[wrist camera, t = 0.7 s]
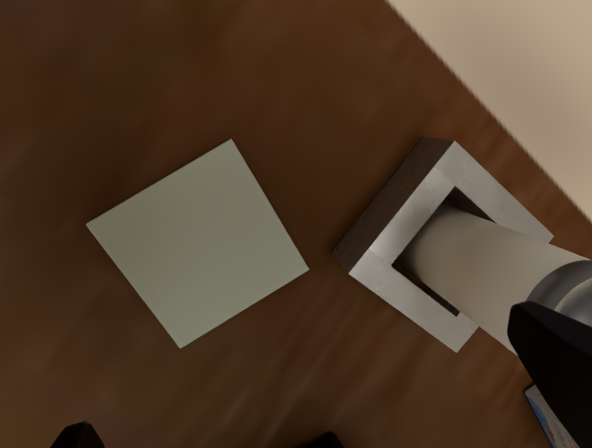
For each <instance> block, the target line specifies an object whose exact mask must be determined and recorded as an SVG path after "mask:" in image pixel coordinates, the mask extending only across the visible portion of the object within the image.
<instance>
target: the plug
mask: <svg viewBox="0 0 592 448" xmlns="http://www.w3.org/2000/svg"><path fill="white" fill-rule="evenodd" d="M396 260H397V262H398V263H399V264H400V265H401V266H402V267H404V268H405V269H406V270H408V271H409V272H410V273H411V274H413V275H414V276H415V277H417V278H418V279H419V280H420V281H422V282H423V283H424V284H426V285H427V286H428V287H429V288H431V289H432V290H433V291H435V292H436V293H437V294H438V295H440V296H441V297H442V298H444V299H445V300H446V301H448V302H449V303H450V304H451V305H453V306H454V307H455V308H457V309H458V310H459V311H460V312H462V313H463V314H464V315H466V316H467V317H468V318H469V319H471V320H472V321H473V322H475V323H476V324H477V325H479V326H480V327H481V328H482V329H484V330H485V331H486V332H488V333H489V334H490V335H491V336H493V337H494V338H495V339H497V340H498V341H499V342H500V343H502V344H503V345H504V346H506V347H507V348H508V349H509V350H511V351H512V352H513V353H515V354H516V355H517V353H516V352H515V350H514V348H513V347H512V345H511V343H510V341H509V339H508V336H507V327H508V320H509V314H510V308H511V307H512V305H514V304H517V303H520V302H524V301H534V302H536V303H539V304H541V305H543V306H545V307H548V308H550V309H552V310H555V311H557V312H559V313H561V314H564V315H566V316H568V317H571V318H573V319H575V320H577V321H580V322H582V323H584V324H587V325H589V326H591V327H592V260H590V259H587V258H584V257H582V256H579V255H577V254H574V253H571V252H569V251H566V250H564V249H561V248H558V247H556V246H553V245H551V244H548V243H545V242H543V241H540V240H538V239H535V238H532V237H530V236H527V235H525V234H522V233H519V232H517V231H514V230H512V229H509V228H506V227H504V226H501V225H499V224H496V223H493V222H491V221H488V220H485V219H483V218H480V217H478V216H475V215H472V214H470V213H467V212H465V211H462V210H459V209H457V208H454V207H452V206H449V205H446V204H444V203H441V204H440V205H439V206H438V207H437V209H436V210H435V211H434V212H433V214H432V215H431V216H430V217H429V219H428V220H427V221H426V222H425V224H424V225H423V226H422V227H421V229H420V230H419V231H418V232H417V233H416V235H415V236H414V237H413V238H412V240H411V241H410V242H409V243H408V245H407V246H406V247H405V248H404V250H403V251H402V252H401V253H400V255H399V256H398V257H397V258H396ZM517 356H518V355H517Z"/></svg>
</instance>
